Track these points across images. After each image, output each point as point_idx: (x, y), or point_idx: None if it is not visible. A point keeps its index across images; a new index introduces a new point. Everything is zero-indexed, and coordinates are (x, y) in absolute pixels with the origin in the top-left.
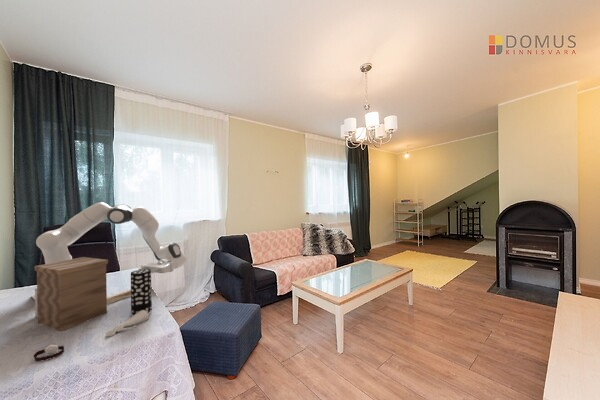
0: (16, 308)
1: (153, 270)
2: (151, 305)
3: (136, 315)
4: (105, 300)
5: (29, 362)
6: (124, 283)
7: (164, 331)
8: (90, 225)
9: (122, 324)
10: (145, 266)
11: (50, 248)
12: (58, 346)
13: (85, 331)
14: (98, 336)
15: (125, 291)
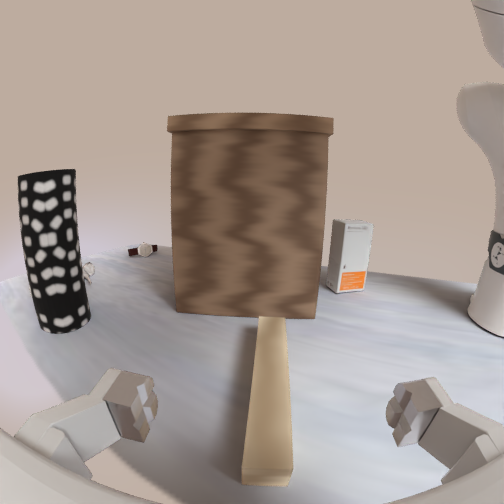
0: (449, 285)
1: (77, 405)
2: (35, 309)
3: None
4: (174, 267)
5: (157, 251)
6: None
7: (6, 281)
8: (496, 28)
9: None
10: (494, 458)
11: (466, 130)
12: (137, 248)
13: (148, 276)
14: (107, 272)
15: (277, 388)
